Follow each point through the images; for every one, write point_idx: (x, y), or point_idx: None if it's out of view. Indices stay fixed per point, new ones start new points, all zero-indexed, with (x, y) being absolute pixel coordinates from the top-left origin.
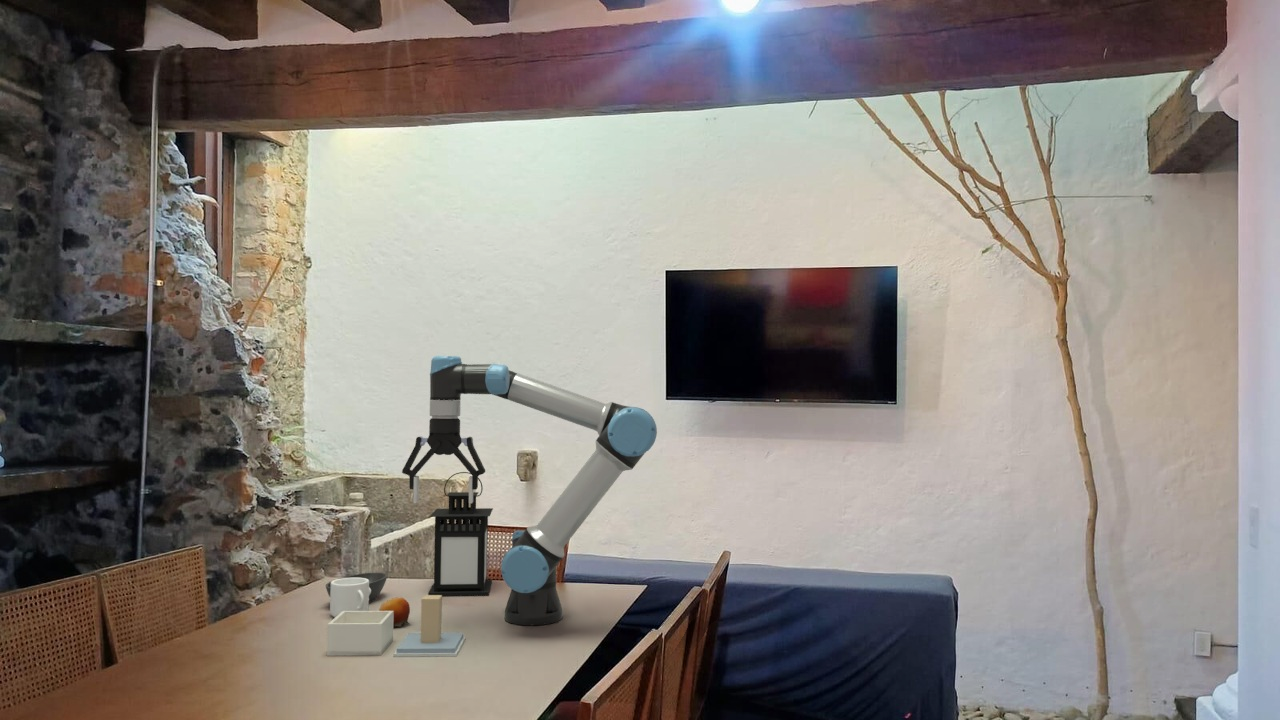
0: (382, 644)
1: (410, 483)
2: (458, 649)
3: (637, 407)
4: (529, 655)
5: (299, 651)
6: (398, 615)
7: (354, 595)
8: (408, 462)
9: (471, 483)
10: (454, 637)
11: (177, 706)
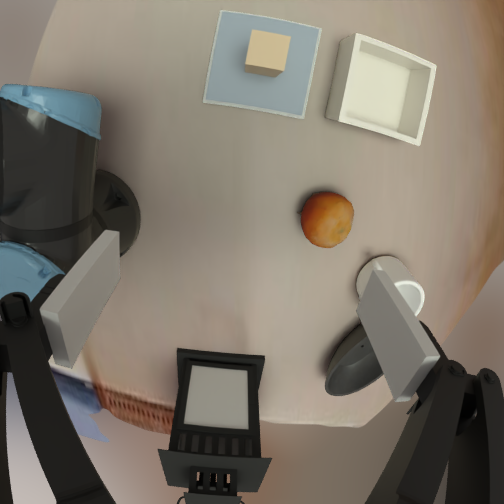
0: (342, 47)
1: (432, 339)
2: (216, 29)
3: None
4: (111, 11)
5: (444, 103)
6: (320, 194)
7: (389, 272)
8: (500, 421)
9: (62, 284)
10: (221, 72)
11: None
